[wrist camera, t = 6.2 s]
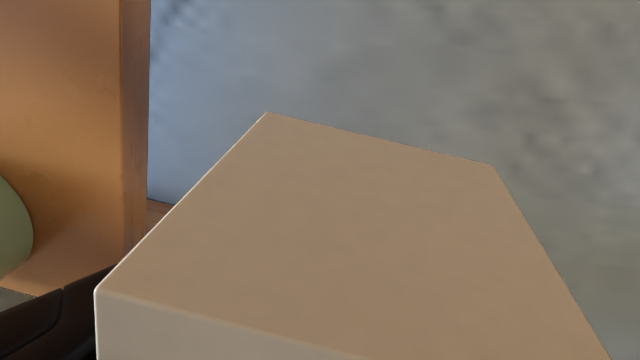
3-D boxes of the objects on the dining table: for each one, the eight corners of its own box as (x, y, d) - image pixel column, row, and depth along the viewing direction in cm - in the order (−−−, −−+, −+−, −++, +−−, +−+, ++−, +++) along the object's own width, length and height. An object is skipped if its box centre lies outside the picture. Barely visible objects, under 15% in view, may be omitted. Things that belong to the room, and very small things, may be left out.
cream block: (422, 335, 11) (458, 669, 6) (239, 288, 11) (105, 564, 6) (494, 164, 9) (663, 439, 3) (265, 110, 9) (90, 289, 4)
